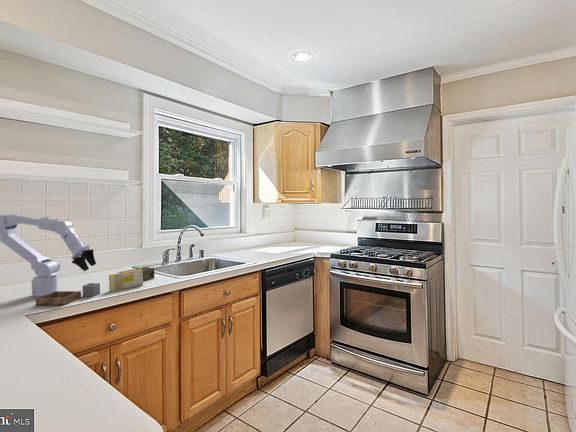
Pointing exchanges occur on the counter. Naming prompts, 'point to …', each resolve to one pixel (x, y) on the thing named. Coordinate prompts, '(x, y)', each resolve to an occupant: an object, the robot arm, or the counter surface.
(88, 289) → the slate crate
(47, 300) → the walnut crate
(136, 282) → the candy box
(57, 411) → the counter surface
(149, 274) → the beverage carton
